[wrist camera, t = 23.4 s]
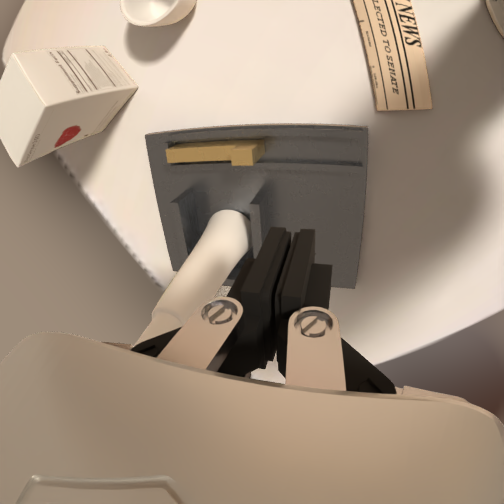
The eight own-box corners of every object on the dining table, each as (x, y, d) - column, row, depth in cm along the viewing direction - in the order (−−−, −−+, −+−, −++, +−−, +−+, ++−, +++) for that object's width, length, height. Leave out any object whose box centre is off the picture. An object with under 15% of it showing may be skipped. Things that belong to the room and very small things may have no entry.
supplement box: (103, 133, 36) (16, 171, 23) (71, 91, 33) (-15, 116, 21) (141, 87, 31) (45, 108, 19) (105, 43, 28) (10, 51, 16)
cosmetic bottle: (211, 251, 40) (118, 389, 22) (205, 208, 36) (88, 340, 18) (257, 255, 38) (182, 411, 20) (253, 210, 35) (158, 362, 17)
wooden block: (264, 139, 30) (251, 149, 26) (265, 153, 31) (253, 165, 27) (177, 143, 33) (155, 154, 29) (179, 156, 33) (158, 168, 29)
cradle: (367, 126, 27) (372, 134, 23) (354, 283, 37) (354, 310, 33) (149, 133, 34) (125, 142, 30) (176, 267, 44) (160, 287, 40)
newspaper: (322, -78, 16) (321, -85, 14) (385, -80, 13) (386, -87, 12) (375, 109, 27) (378, 111, 25) (438, 107, 25) (444, 109, 23)
